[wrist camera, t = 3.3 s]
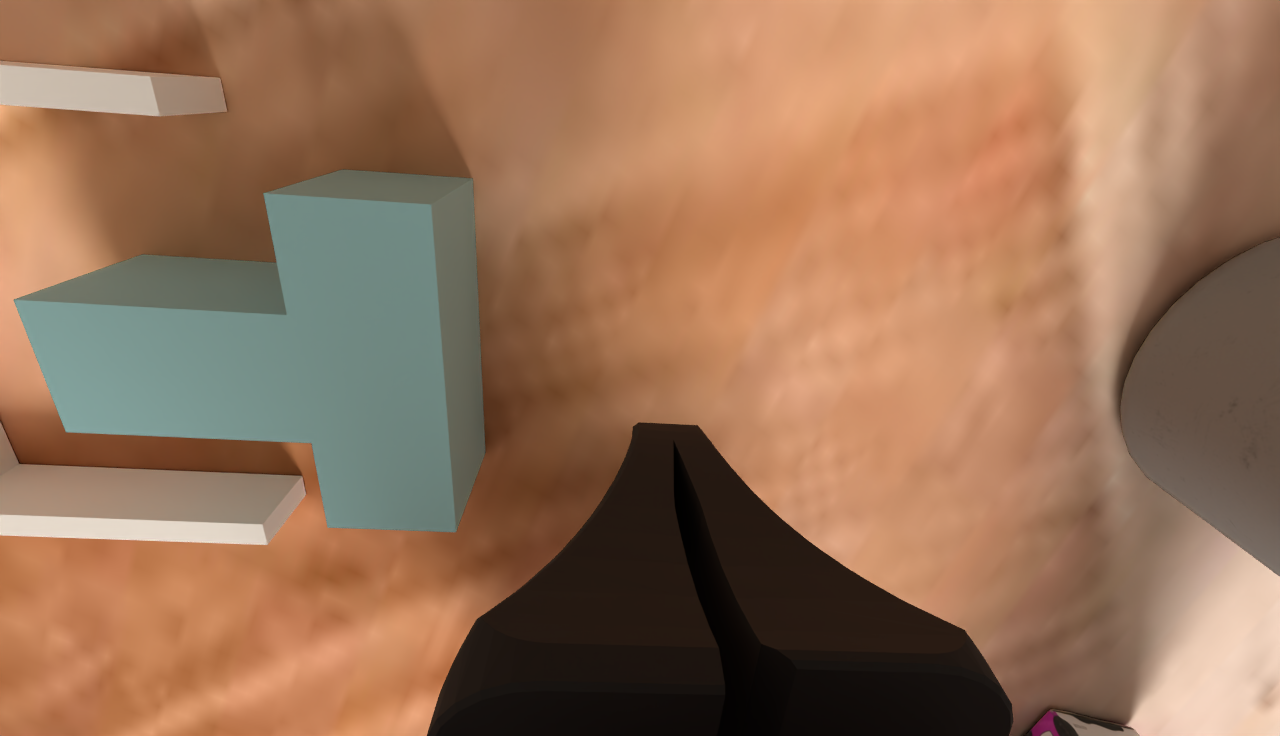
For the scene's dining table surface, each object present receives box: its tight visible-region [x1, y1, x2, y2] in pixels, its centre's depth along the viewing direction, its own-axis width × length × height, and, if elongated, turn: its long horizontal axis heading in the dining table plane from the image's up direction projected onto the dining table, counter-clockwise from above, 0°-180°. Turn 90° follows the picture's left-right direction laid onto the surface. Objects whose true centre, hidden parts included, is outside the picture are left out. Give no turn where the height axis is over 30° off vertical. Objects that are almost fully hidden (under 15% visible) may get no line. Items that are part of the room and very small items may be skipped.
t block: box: [14, 169, 486, 532], centre depth 16 cm, size 10×9×4 cm
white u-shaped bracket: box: [0, 61, 306, 545], centre depth 17 cm, size 10×13×2 cm
